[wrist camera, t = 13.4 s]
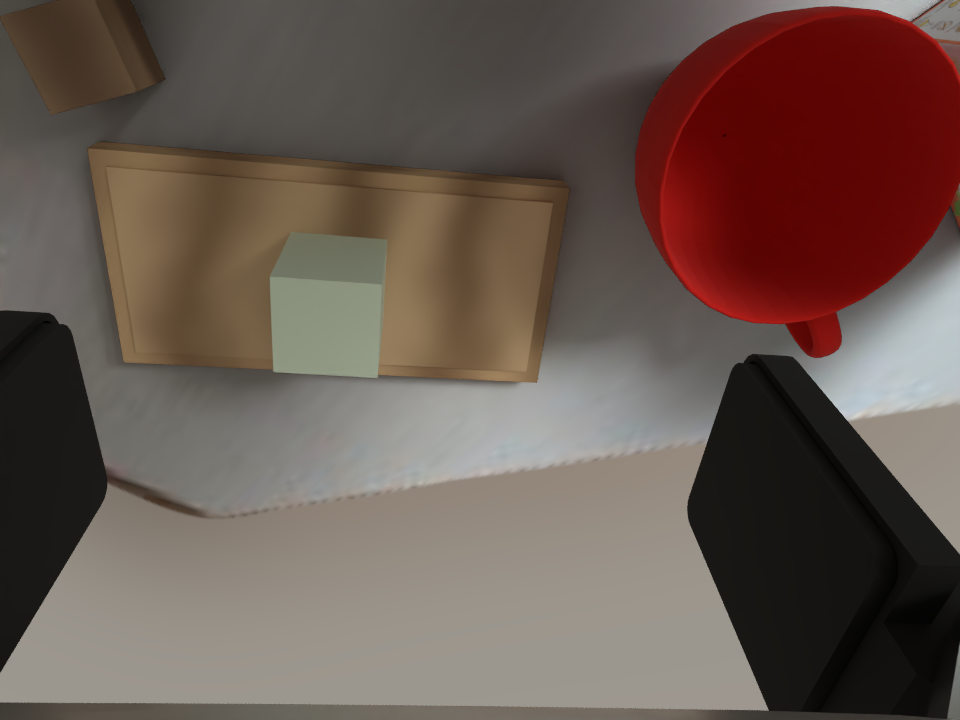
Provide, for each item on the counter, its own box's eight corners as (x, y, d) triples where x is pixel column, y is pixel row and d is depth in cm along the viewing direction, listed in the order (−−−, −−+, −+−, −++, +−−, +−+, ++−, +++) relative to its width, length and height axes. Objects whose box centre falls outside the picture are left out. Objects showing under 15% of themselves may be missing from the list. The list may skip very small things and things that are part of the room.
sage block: (387, 239, 37) (382, 284, 31) (383, 323, 39) (377, 377, 34) (291, 231, 36) (269, 276, 31) (293, 317, 38) (273, 371, 33)
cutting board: (564, 180, 37) (570, 189, 36) (533, 370, 43) (537, 383, 42) (99, 141, 35) (85, 148, 33) (133, 349, 40) (122, 363, 39)
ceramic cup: (658, 335, 43) (718, 428, 34) (567, 66, 35) (617, 100, 26) (864, 252, 41) (983, 328, 32) (820, -52, 33) (963, -58, 24)
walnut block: (126, -12, 32) (90, -9, 28) (166, 79, 34) (137, 91, 30) (44, 11, 32) (-2, 16, 28) (89, 99, 34) (50, 114, 30)
